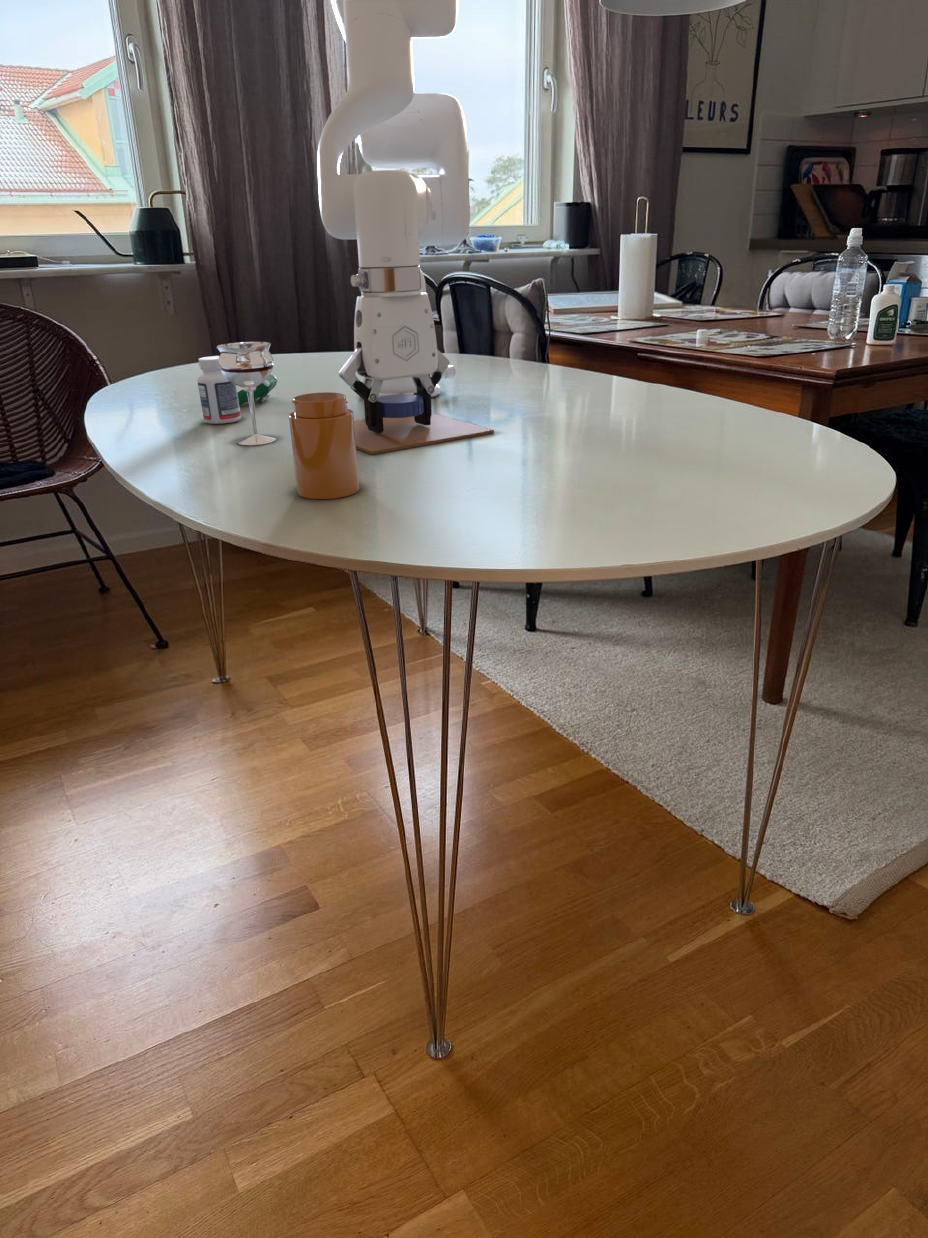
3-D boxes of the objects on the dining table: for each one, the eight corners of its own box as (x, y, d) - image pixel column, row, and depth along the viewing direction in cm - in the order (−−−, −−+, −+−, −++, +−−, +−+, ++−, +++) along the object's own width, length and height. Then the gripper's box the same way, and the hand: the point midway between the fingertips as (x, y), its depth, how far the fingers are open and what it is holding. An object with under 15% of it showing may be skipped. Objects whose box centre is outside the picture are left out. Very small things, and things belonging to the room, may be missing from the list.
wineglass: (264, 432, 116) (252, 340, 111) (293, 439, 112) (282, 343, 107) (220, 441, 112) (205, 346, 107) (247, 449, 107) (234, 349, 102)
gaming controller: (248, 417, 135) (271, 389, 133) (228, 400, 134) (252, 372, 132) (261, 406, 143) (283, 380, 142) (243, 390, 142) (265, 363, 140)
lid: (388, 420, 108) (388, 405, 108) (364, 412, 114) (363, 398, 113) (433, 413, 112) (432, 398, 111) (407, 406, 117) (407, 392, 116)
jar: (342, 479, 93) (334, 388, 89) (370, 491, 88) (363, 396, 84) (287, 489, 90) (276, 396, 86) (313, 503, 85) (302, 405, 81)
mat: (422, 412, 125) (422, 410, 125) (494, 432, 111) (494, 429, 111) (309, 430, 116) (309, 427, 116) (372, 454, 103) (371, 451, 102)
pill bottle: (246, 416, 126) (237, 354, 123) (234, 424, 122) (224, 359, 118) (211, 417, 127) (202, 355, 123) (198, 424, 122) (188, 360, 119)
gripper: (341, 287, 99) (354, 441, 106) (465, 279, 108) (469, 422, 115) (314, 285, 105) (328, 432, 112) (434, 278, 113) (439, 415, 121)
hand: (399, 426), depth 113 cm, fingers closed on lid, 6 cm apart
